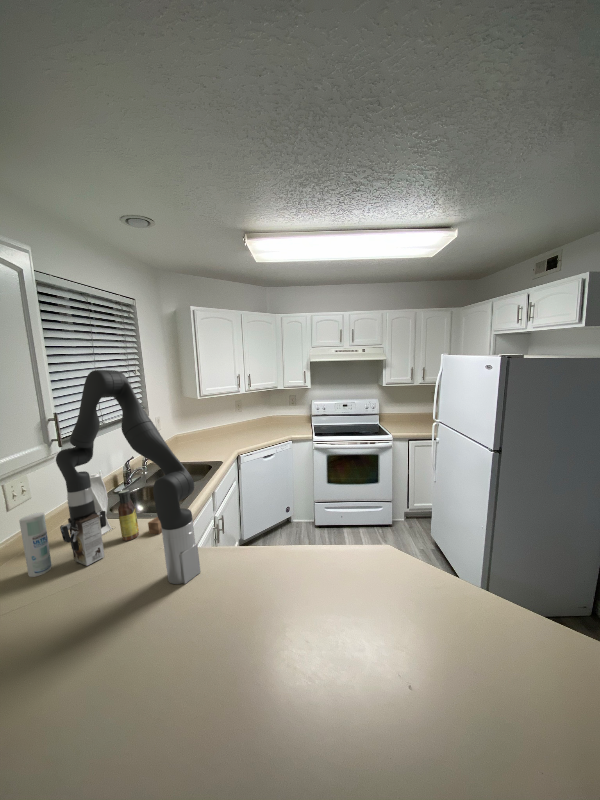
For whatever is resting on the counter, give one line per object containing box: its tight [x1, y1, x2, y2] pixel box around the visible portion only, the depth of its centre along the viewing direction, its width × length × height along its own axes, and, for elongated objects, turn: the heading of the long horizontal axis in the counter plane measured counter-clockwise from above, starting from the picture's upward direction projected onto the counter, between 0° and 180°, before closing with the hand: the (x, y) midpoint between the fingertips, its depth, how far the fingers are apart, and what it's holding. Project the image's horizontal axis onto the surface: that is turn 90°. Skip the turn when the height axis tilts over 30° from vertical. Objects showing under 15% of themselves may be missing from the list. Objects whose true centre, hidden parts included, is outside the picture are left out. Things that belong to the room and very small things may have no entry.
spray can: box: [19, 512, 52, 578], centre depth 103 cm, size 6×6×20 cm
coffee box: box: [67, 514, 105, 566], centre depth 108 cm, size 9×6×16 cm
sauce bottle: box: [117, 489, 140, 542], centre depth 122 cm, size 7×6×20 cm
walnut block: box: [147, 516, 162, 535], centre depth 126 cm, size 5×5×5 cm
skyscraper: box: [89, 469, 114, 536], centre depth 129 cm, size 8×8×28 cm
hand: (87, 545), depth 108 cm, fingers closed on coffee box, 6 cm apart
